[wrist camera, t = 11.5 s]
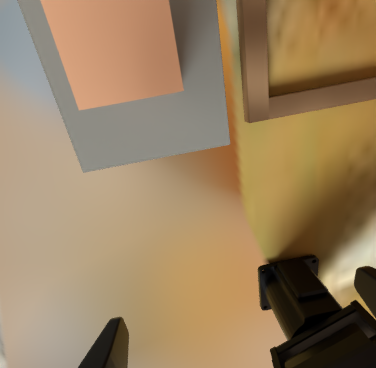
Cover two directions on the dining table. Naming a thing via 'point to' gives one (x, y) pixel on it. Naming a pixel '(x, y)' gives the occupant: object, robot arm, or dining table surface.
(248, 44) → the holder
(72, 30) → the block
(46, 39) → the mat
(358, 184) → the dining table surface
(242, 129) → the dining table surface
